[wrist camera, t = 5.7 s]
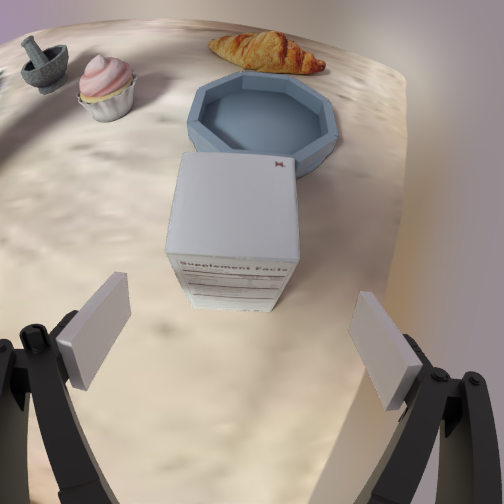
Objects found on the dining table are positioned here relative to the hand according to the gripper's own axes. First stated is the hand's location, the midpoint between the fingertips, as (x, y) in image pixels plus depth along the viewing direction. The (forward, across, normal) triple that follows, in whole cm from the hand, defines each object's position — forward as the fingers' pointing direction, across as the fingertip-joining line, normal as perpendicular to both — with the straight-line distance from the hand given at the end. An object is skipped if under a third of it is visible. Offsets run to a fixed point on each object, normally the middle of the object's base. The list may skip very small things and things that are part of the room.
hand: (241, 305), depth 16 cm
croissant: (+39, +1, +24) cm, 46 cm away
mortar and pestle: (+36, -40, +21) cm, 58 cm away
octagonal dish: (+26, +1, +11) cm, 28 cm away
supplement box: (+12, -1, -4) cm, 12 cm away
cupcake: (+28, -21, +13) cm, 38 cm away
